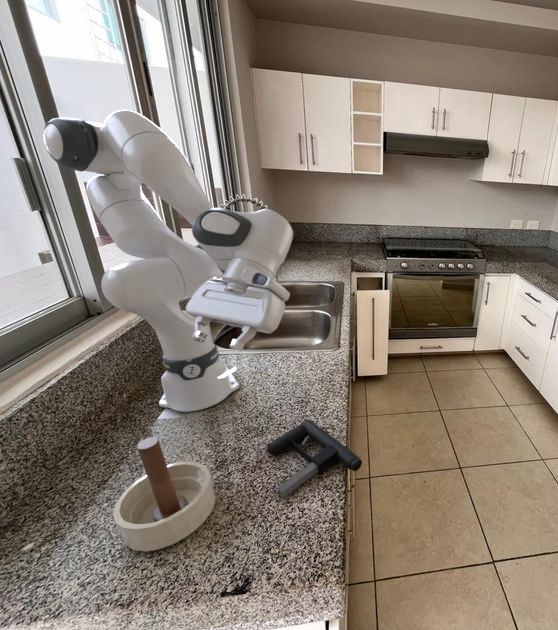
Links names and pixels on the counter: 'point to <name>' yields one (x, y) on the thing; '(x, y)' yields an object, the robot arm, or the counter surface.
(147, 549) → the bowl
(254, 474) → the counter surface
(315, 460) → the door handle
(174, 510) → the stirring stick
